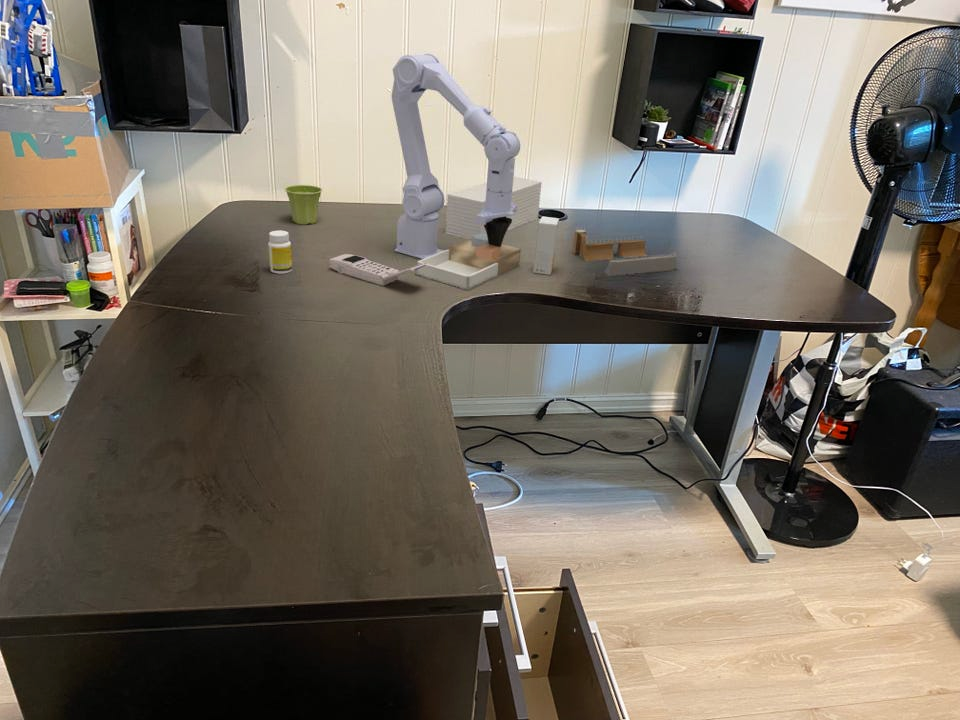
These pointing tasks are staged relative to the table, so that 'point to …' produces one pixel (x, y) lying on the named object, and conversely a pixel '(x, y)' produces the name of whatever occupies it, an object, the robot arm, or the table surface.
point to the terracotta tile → (488, 252)
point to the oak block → (467, 256)
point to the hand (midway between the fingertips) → (494, 249)
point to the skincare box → (546, 245)
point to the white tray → (454, 271)
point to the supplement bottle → (280, 252)
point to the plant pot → (304, 203)
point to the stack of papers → (472, 203)
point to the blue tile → (479, 240)
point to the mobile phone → (367, 269)
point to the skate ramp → (624, 250)
